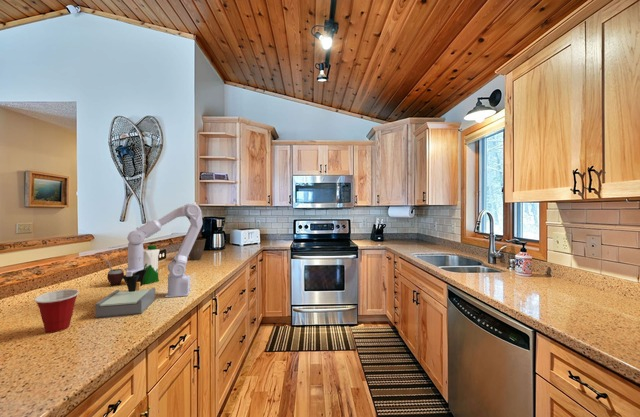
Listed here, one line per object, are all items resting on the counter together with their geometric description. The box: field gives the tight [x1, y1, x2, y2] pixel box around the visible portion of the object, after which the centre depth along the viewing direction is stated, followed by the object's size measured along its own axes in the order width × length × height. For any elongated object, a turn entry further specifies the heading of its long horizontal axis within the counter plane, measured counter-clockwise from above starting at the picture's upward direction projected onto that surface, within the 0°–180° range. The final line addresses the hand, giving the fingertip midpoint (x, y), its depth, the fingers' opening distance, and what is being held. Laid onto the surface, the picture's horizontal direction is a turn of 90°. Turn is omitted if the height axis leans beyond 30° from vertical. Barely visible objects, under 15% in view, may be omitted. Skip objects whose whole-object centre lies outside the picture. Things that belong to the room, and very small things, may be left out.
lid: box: [100, 282, 151, 306], centre depth 108 cm, size 12×17×4 cm
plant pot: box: [188, 238, 207, 261], centre depth 210 cm, size 15×15×16 cm
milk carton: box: [142, 244, 161, 285], centre depth 146 cm, size 9×9×20 cm
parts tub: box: [94, 287, 156, 319], centre depth 108 cm, size 15×17×5 cm
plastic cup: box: [34, 288, 80, 334], centre depth 89 cm, size 11×11×12 cm
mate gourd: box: [101, 258, 125, 288], centre depth 139 cm, size 8×8×15 cm
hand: (135, 288), depth 116 cm, fingers open, 7 cm apart
